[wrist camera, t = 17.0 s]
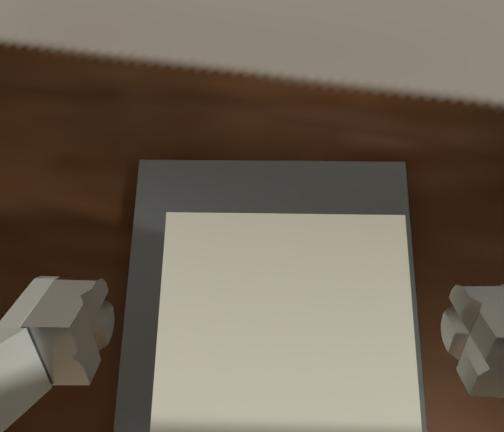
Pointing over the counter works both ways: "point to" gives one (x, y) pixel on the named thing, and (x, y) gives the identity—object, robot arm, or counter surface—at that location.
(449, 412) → the counter surface
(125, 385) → the mat
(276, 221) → the cream block
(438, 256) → the counter surface
